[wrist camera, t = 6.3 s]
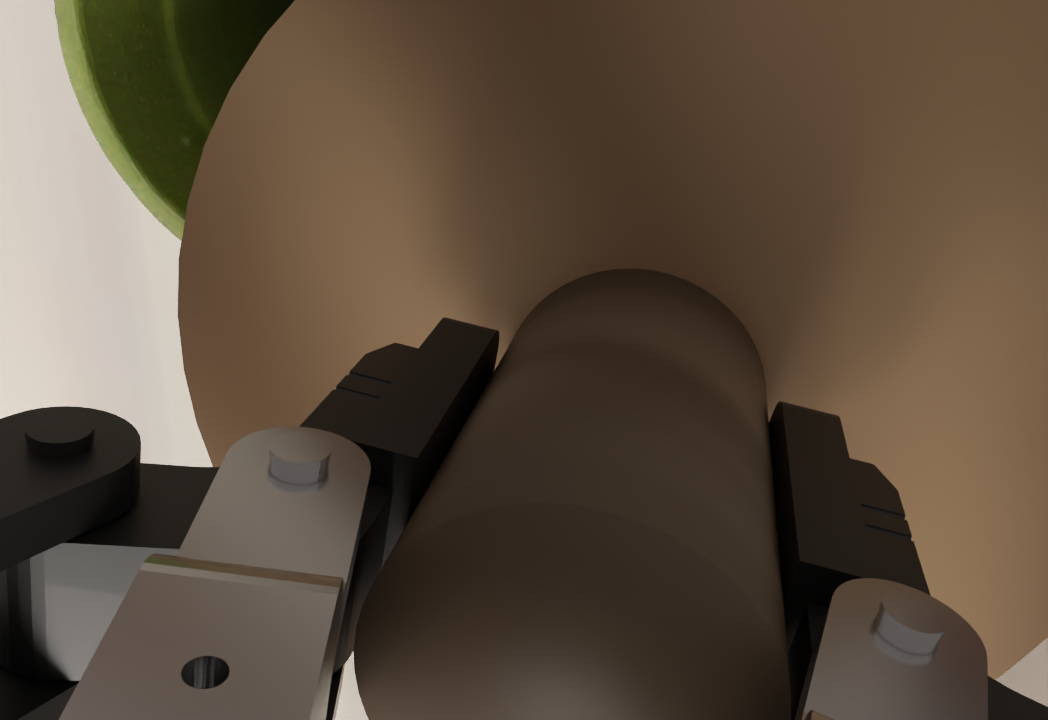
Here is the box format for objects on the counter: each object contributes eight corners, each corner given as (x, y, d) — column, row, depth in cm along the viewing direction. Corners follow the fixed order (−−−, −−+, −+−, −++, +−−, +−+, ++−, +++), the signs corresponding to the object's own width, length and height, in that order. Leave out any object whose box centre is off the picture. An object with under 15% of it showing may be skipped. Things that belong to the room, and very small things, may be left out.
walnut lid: (440, 779, 18) (281, 1228, 12) (61, 111, 15) (-472, 234, 8) (1241, 620, 14) (1676, 1188, 8) (992, -383, 10) (1432, -951, 4)
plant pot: (701, 123, 30) (691, 204, 20) (367, 244, 33) (210, 367, 23) (566, -291, 26) (468, -457, 16) (211, -108, 30) (-54, -148, 20)
